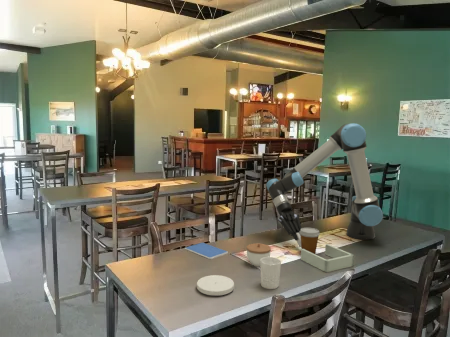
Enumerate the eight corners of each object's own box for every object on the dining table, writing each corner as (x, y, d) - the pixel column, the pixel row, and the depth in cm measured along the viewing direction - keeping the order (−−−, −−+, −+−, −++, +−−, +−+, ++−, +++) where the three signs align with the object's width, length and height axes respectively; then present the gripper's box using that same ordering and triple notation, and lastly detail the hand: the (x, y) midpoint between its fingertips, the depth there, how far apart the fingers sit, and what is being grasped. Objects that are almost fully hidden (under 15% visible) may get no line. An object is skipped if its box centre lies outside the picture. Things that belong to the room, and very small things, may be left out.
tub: (326, 253, 174) (327, 244, 173) (353, 265, 160) (354, 255, 159) (300, 259, 166) (301, 249, 165) (326, 272, 152) (326, 261, 151)
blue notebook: (183, 249, 178) (183, 247, 177) (202, 244, 186) (202, 241, 186) (209, 260, 164) (209, 258, 164) (229, 254, 173) (229, 251, 173)
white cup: (257, 281, 142) (258, 257, 141) (277, 280, 143) (278, 256, 142) (261, 290, 134) (262, 264, 133) (282, 289, 135) (283, 264, 134)
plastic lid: (189, 291, 133) (189, 285, 133) (210, 278, 145) (210, 272, 145) (221, 301, 126) (221, 295, 125) (240, 287, 138) (240, 280, 137)
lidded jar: (254, 270, 153) (255, 249, 152) (241, 261, 162) (242, 241, 161) (275, 266, 158) (275, 245, 157) (261, 258, 167) (262, 238, 166)
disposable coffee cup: (319, 258, 168) (320, 233, 166) (298, 256, 169) (299, 232, 168) (317, 251, 177) (319, 228, 175) (298, 249, 178) (299, 226, 177)
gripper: (289, 208, 195) (308, 247, 182) (269, 210, 189) (287, 251, 176) (295, 200, 189) (316, 240, 177) (275, 202, 183) (295, 243, 171)
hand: (301, 245), depth 177 cm, fingers closed
